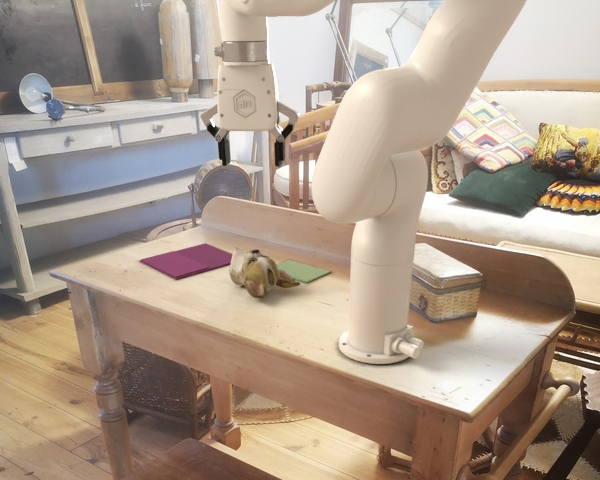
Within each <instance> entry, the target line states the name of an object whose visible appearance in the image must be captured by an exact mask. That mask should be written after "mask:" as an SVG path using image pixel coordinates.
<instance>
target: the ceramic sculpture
mask: <svg viewBox="0 0 600 480" xmlns="http://www.w3.org/2000/svg"><path fill="white" fill-rule="evenodd" d="M232 254H233V255H232V259H231V263H230V264H229V269H228V272H229V277H230V279H231V282H233V284H234V285H236V286H244V288H245V289H246V291H247V293H248V294H249V296H251V298H254V299H265V298H266V295H267V293H268V292H270V291H272V290H274V289H275V288H276V286H277V287H279V288H281V289H291V288H296V287H299V286H301V282H300V281H296V280H295V279H293V278H291V276H290V275H289V274H288V273H286V272H285V271H284V270H278V267H277V263H276V261H275V260H274V259H272V258H270V256H267V255H264V254H263V253H262V252H261V251H260V250H259V249H252V250H249V251H248V250H244V249H240V248H238V247H234V249H233V253H232Z"/></svg>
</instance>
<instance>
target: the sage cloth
mask: <svg viewBox="0 0 600 480" xmlns="http://www.w3.org/2000/svg"><path fill="white" fill-rule="evenodd" d="M276 265H277V267H278V270H284V271H285V272H286V273H288V274H289V275H290V276H291V278H293V279H294V280H295V281H297V282H302V283H306V284H308V283H311V282H312V281H314V280H318V279H319V278H321V277H323V276H326V275H328V274H330V273H331V270H327V269H324V268H322V267H321V268H320V267H317V266H313V265H309V264H306V263H302V262H299V261H295V260H292V259H287V260H285V261H283V262H280V263H276Z"/></svg>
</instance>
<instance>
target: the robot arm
mask: <svg viewBox="0 0 600 480" xmlns="http://www.w3.org/2000/svg"><path fill="white" fill-rule="evenodd" d="M336 1H337V0H218V5H219V6H218V7H219V18H220V30H221V31H220V32H221V42H220V45H218V46H214V50H213V52H214V56H215V57H219V58H221V61H222V62H223V64H218V70H217V84H216V85H217V87H216V88H217V89H216V91H217V93H216V94H217V97H216V99H217V100H216V101H217V102H216V104H214V105H212V106H211V107H209V108H207V109H206V110H205V111H203V112H201V113H200V116H199V117H200V119H201V121H202V123H203V125H204V126H205V128H206V131H208V133H209V134H210V135H211V136H212V137H213V138H214V140H215V141H216V142H217V150H218V159H219V161H221V165H222V167H227V166H228V165H229V164H231V161H232V160H231V149H230V148H231V147H230V140H229V139H228V138H227V137H228V135H229V133H230V132H268V131H269V132H270V133H271V135H272V136H273V137H274V138H275V142H274V143H273V148H274V151H273V152H274V166H275V167H277V168H279V167H281V165H282V164H283V162H285V160H286V148H285V147H286V144H285V143H286V142H285V141H286V139H287V138H288V137H289V136H290V134H292V132H294V130H295V127H296V125H297V123H298V120H299V119H300V113H299V112H298V111H296V110H295V109H293V108H291V107H289V106H288V105H286V104H284V103H282V102H281V101H280V100H279V92H278V84H277V77H276V71H275V67H274V63H270V51H269V48H270V47H269V25H268V18H277V17H307V16H311V15H314V14H317V13H318V12H320V11H322V10H323V9H325V8H326V7H328V6H330V5H332V4H333V3H334V2H336ZM527 1H528V0H443V1H442V2H441V4H439V6H438V7H437V8H436V10H435V11H434V12H433V14H432V15H431V17H430V19H429V20H428V22H427V24H426V26H425V28H424V30H423V32H422V34H421V37H420V39H419V41H418V43H417V45H416V47H415V49H414V50H413V53H412V54H411V56H410V57H409V58H408V60H407V61H406V63H404V64H403V65H401V66H399V67H389V68H380V69H375V70H371V71H369V72H366V73H365V74H362V75H361V76H360V77H359V78H357V79H356V80H355V81H354V82H353V83H352V84H351V85H350V87H349V88H348V89H347V90H346V92H345V94H344V95H343V97H342V99H341V101H340V103H339V106H338V108H337V111H336V113H335V115H334V117H333V120H332V122H331V125H330V128H329V130H328V133H327V135H326V138H325V140H324V143H323V145H322V148H321V150H320V153H319V155H318V158H317V160H316V162H315V165H314V169H313V172H312V178H311V197H312V201H313V204H314V205H313V206H314V207H315V210H317V212H318V214H319V215H320V216H321V217H322V218H323V220H326V221H327V222H330V223H331V224H332V223H333V224H336V225H348V224H354V223H355V226H354V229H353V233H352V238H351V244H350V247H351V248H350V272H349V273H350V274H349V299H348V300H349V301H348V329H346V330H345V331H344V332H342V333H341V335H340V336H339V339H338V349H339V350H340V352H341V353H342V354H343V355H345V356H346V357H347V358H349V359H352V360H354V361H356V362H361V363H365V364H370V365H371V364H372V365H387V364H394V363H398V362H401V361H405V360H406V359H408V358H412V359H414V360H415V359H418V357H420V355H421V353H422V349H423V348H424V346H425V342H424V341H423V340H421V339H419V338H416V337H414V336H413V333H414V332H413V331H414V326H413V325H411V324H409V314H410V304H411V292H412V281H413V269H414V259H415V251H416V250H415V249H416V240H417V232H418V227H419V220H420V216H421V212H422V208H423V205H424V201H425V197H426V194H427V191H428V190H427V189H428V183H429V170H428V169H429V168H428V165H427V160H426V159H425V157H424V154H423V153H422V152H421V150H423V149H427V148H430V147H433V146H435V145H437V144H439V143H441V142H442V141H444V139H445V138H446V136H447V135H448V134H449V132H450V131H451V130H452V128H453V126H454V124H455V123H456V121H457V119H458V118H459V116H460V115H461V113H462V111H463V109H464V107H465V106H466V104H467V102H468V100H469V99H470V97H471V95H472V94H473V93H474V90H475V88H476V87H477V85H478V83H479V82H480V80H481V79H482V76H483V75H484V73H485V71H486V69H487V67H488V65H489V63H490V62H491V60H492V58H493V56H494V55H495V53H496V52H497V50H498V48H499V47H500V45H501V44H502V42H503V40H504V39H505V37H506V36H507V34H508V32H509V31H510V29H511V28H512V26H513V25H514V24H515V21H516V20H517V19H518V17H519V15H520V13H521V11H522V10H523V8H524V7H525V5H526V3H527ZM281 114H282V115H284V116H286V117H287V118H288V122H287V124H286V126H285V127H284V128H282V127H281V125H280V121H281ZM215 115H217V122H218V126H219V127H218V126H217V125H216V124H215V123H214V121H213V116H215Z"/></svg>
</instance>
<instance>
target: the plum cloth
mask: <svg viewBox="0 0 600 480" xmlns="http://www.w3.org/2000/svg"><path fill="white" fill-rule="evenodd" d="M232 255H233V253H230V252H229V251H226V250H223V249H221V248H218V247H215V246H213V245H211V244H208V243H201V244H198V245H194V246H190V247H186V248H182V249H179V250H178V249H177V250H172V251H168V252H164V253H160V254H157V255H153V256H149V257H144V258H141V259H139V262H140V263H142V264H144V265H146V266H148V267H150V268H152V269H154V270H156V271H158V272H160V273H162V274H164V275H166V276H168V277H170V278H172V279H174V280H180V279H184V278H188V277H191V276H194V275H195V276H196V275H198V274H201V273H205V272H208V271H212V270H215V269H219V268H223V267H226V266H230V263H231V259H232Z"/></svg>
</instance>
